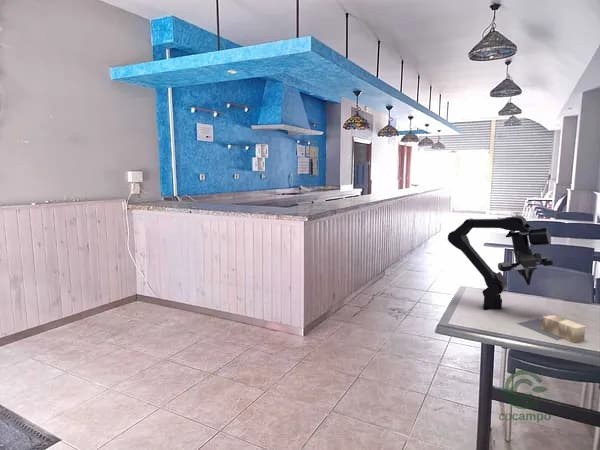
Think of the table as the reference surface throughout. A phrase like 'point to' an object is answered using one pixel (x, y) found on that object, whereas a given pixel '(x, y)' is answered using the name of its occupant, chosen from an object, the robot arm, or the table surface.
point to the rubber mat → (538, 328)
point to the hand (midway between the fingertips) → (528, 285)
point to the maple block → (563, 328)
